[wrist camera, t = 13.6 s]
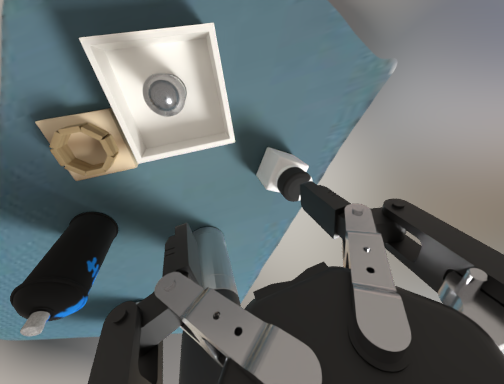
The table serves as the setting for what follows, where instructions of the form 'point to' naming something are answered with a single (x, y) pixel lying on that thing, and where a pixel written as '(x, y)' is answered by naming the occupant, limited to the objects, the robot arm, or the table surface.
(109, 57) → the bin
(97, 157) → the socket base
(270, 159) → the medicine bottle
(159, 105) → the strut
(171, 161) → the table surface
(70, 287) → the aerosol can
